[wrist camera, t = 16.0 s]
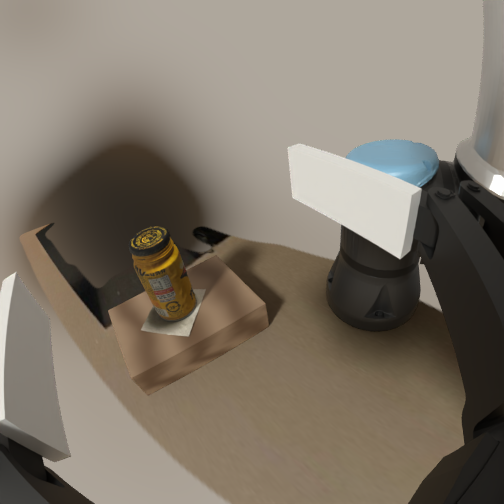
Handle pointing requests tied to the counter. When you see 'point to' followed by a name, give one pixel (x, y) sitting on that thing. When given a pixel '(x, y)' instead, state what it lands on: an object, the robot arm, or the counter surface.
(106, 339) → the counter surface
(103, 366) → the counter surface
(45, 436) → the robot arm
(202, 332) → the stand
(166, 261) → the condiment
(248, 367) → the counter surface
